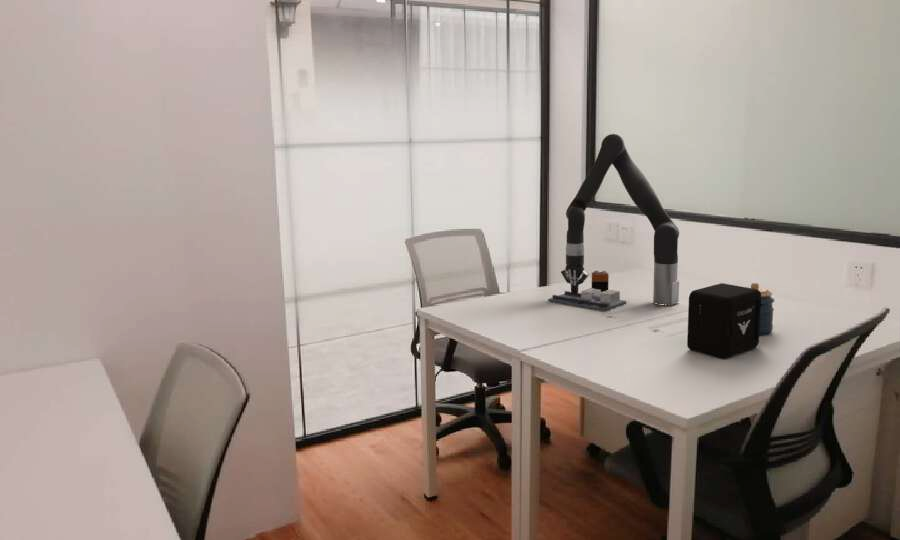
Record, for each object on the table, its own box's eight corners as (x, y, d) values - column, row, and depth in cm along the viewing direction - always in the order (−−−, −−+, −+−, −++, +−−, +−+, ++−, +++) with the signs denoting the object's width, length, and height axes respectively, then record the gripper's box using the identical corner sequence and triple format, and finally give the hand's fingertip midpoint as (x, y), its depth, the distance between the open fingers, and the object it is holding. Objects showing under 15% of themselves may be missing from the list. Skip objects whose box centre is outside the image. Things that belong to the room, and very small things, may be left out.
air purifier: (725, 361, 226) (728, 299, 222) (686, 350, 237) (688, 291, 233) (762, 348, 237) (765, 289, 233) (722, 338, 249) (725, 282, 245)
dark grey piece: (626, 303, 300) (626, 289, 298) (605, 311, 288) (605, 296, 287) (569, 294, 319) (569, 280, 317) (548, 301, 307) (548, 287, 306)
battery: (591, 292, 322) (591, 270, 320) (606, 291, 322) (607, 269, 320) (592, 294, 318) (593, 272, 316) (608, 294, 317) (608, 271, 315)
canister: (769, 338, 248) (772, 288, 244) (729, 333, 254) (731, 284, 251) (774, 328, 258) (777, 280, 255) (736, 324, 265) (738, 277, 262)
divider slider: (600, 299, 302) (600, 289, 302) (587, 303, 295) (587, 294, 295) (590, 297, 306) (590, 288, 305) (577, 302, 299) (577, 292, 298)
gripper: (593, 253, 301) (592, 294, 305) (566, 250, 310) (566, 289, 314) (583, 256, 296) (582, 297, 300) (556, 253, 305) (556, 293, 308)
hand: (574, 293), depth 307 cm, fingers closed
